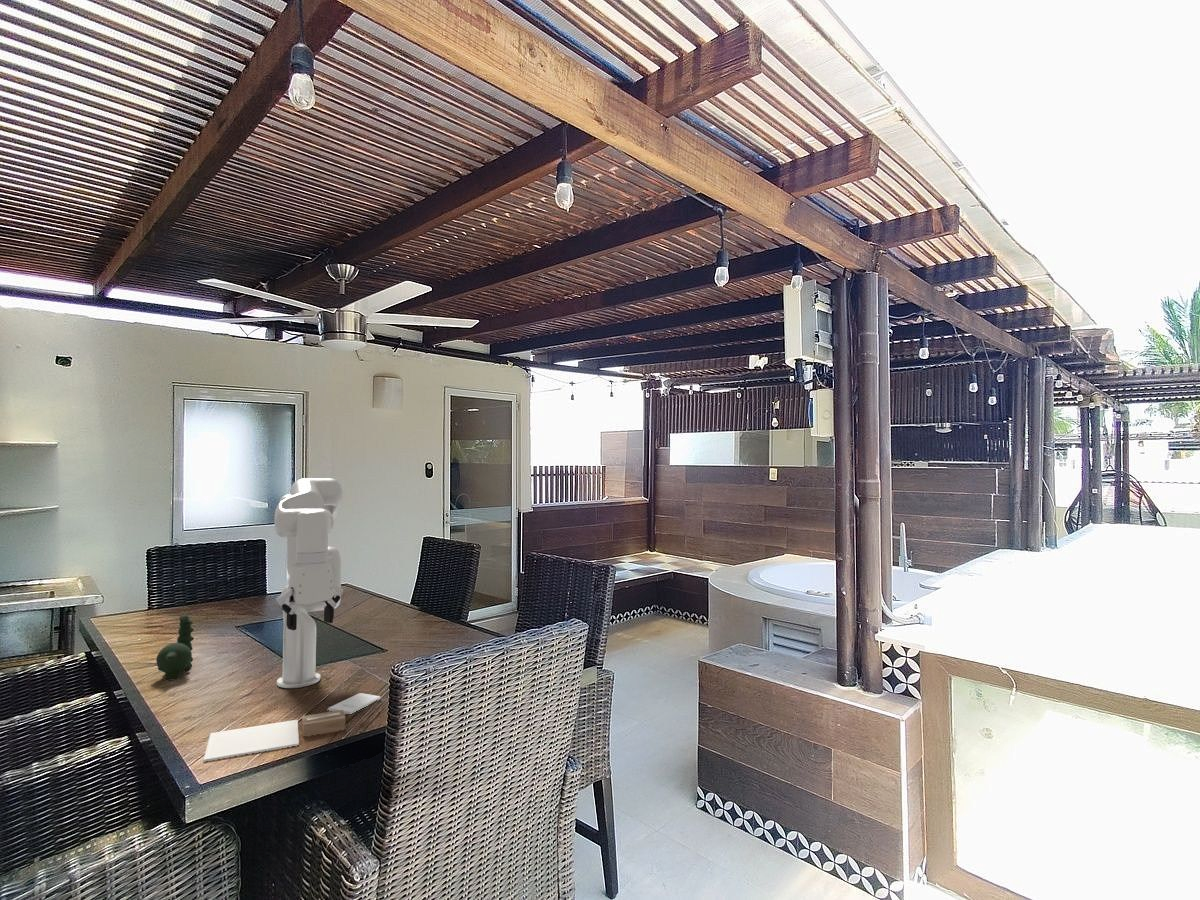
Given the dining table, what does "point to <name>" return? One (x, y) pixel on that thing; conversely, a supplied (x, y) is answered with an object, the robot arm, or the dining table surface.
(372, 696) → the external hard drive
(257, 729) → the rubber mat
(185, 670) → the toy figurine
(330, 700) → the dining table surface
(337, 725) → the slotted tan block
